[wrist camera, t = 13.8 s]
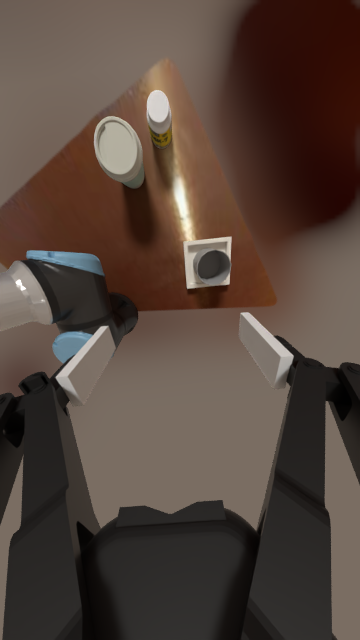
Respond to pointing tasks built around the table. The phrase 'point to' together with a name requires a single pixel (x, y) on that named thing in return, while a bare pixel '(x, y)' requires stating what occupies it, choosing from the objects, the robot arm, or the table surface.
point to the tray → (193, 248)
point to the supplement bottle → (159, 119)
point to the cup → (212, 266)
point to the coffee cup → (119, 151)
